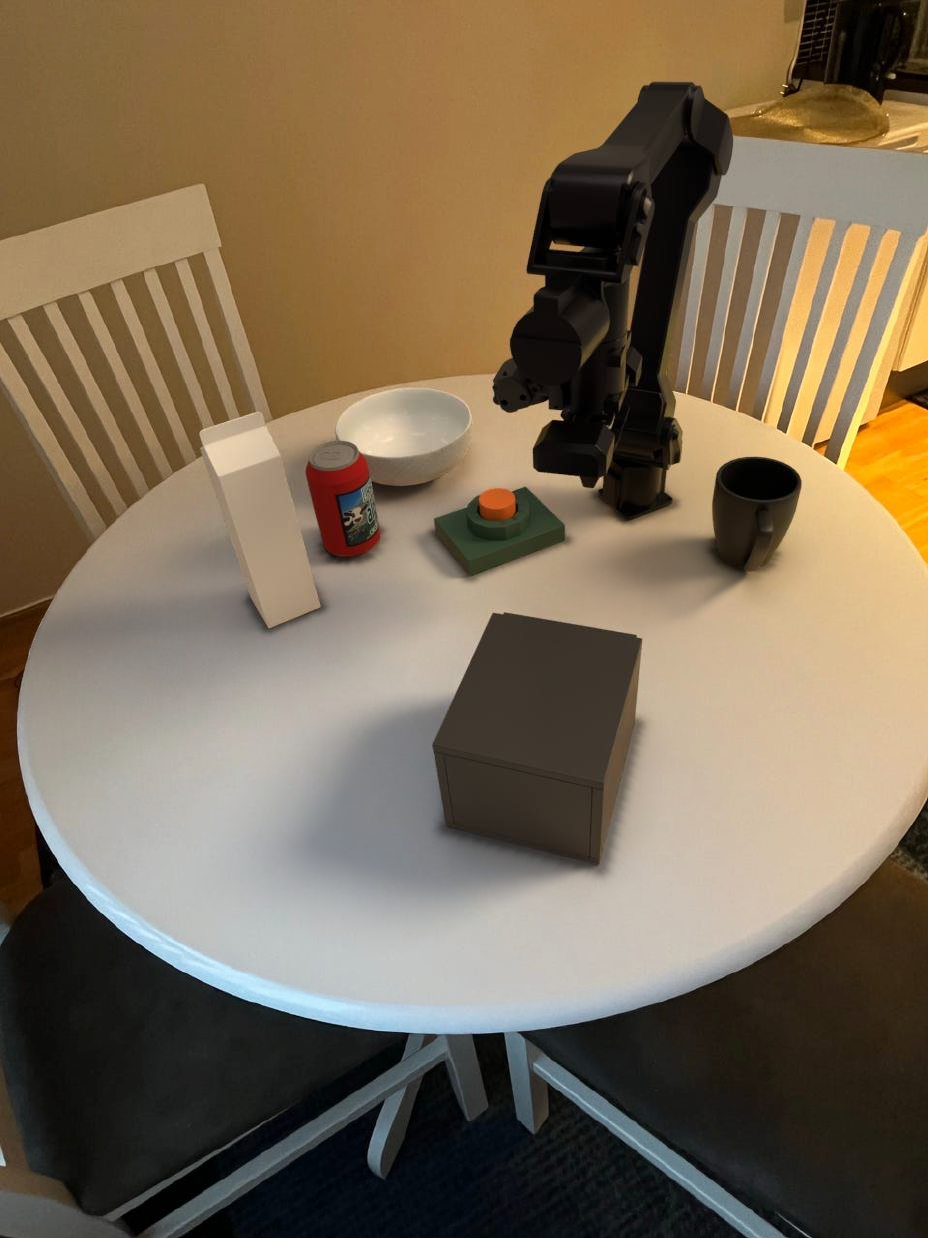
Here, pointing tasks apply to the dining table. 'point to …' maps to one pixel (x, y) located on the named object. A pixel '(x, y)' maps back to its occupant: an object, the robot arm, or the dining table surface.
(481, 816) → the brown storage cube
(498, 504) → the button
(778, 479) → the mug
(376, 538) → the beverage can
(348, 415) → the cereal bowl
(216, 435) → the milk
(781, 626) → the dining table surface
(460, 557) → the control block
